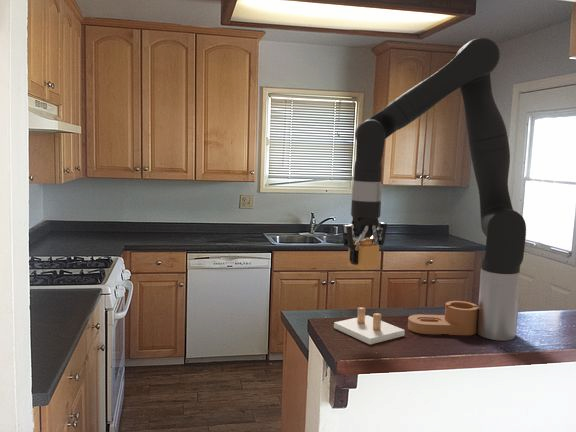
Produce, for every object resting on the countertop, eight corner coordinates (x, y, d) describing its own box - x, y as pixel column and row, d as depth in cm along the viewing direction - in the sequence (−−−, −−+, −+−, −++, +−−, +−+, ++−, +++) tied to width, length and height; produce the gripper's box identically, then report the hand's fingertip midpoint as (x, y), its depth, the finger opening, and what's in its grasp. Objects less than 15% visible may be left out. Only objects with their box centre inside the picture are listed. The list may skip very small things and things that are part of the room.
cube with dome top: (363, 263, 139) (364, 237, 138) (378, 267, 134) (379, 241, 134) (347, 265, 136) (349, 239, 135) (362, 270, 131) (363, 242, 130)
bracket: (471, 325, 142) (472, 301, 141) (481, 336, 134) (482, 310, 133) (405, 323, 143) (406, 299, 142) (411, 334, 135) (412, 308, 134)
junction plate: (367, 320, 144) (368, 301, 144) (404, 335, 133) (405, 314, 132) (333, 327, 138) (334, 307, 137) (369, 344, 126) (370, 322, 125)
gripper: (355, 201, 126) (351, 268, 128) (396, 199, 134) (393, 263, 136) (335, 198, 132) (332, 262, 134) (376, 196, 140) (373, 257, 142)
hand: (363, 262), depth 135 cm, fingers closed on cube with dome top, 5 cm apart
